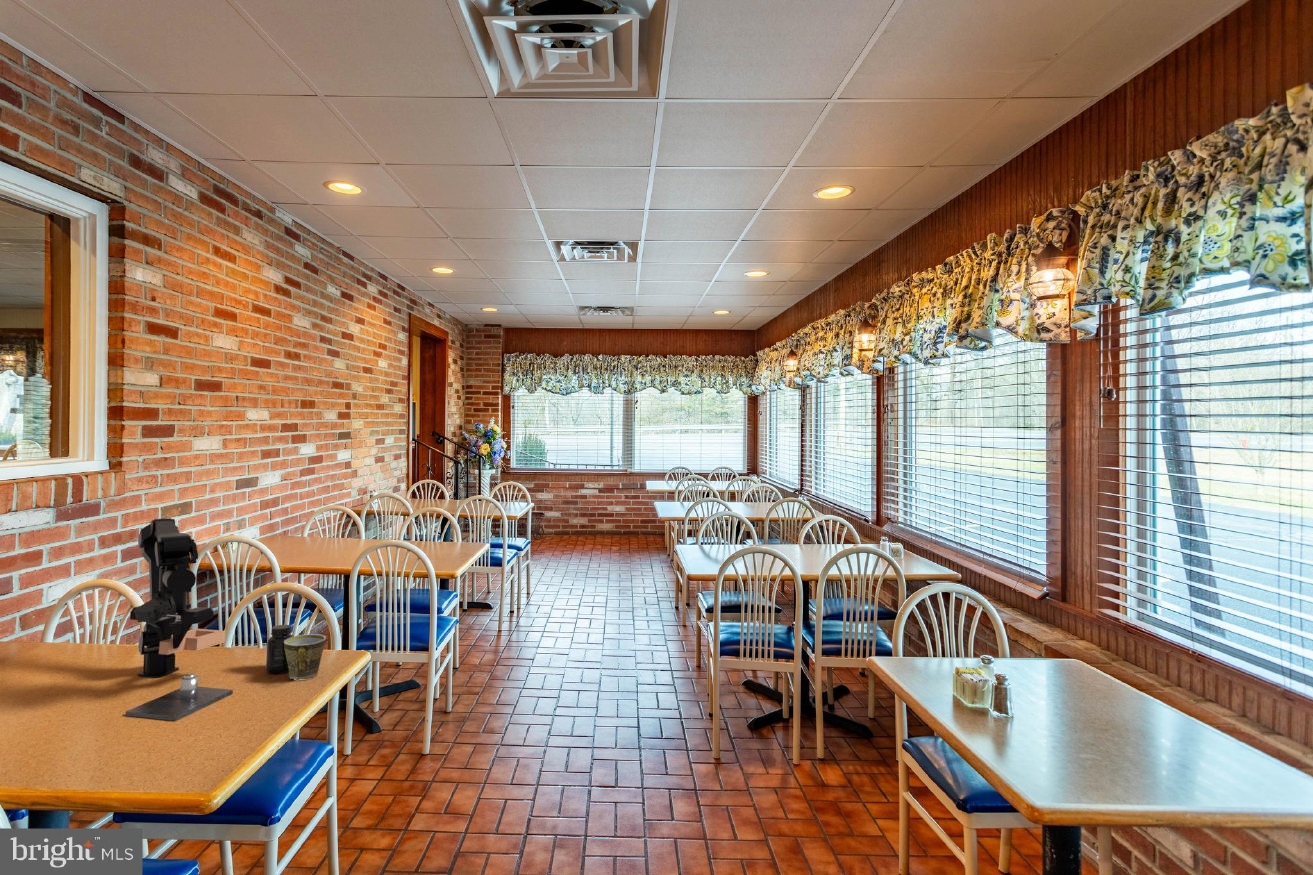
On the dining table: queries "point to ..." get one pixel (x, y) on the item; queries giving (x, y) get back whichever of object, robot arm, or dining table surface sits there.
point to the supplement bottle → (277, 649)
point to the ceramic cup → (304, 655)
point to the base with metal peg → (180, 701)
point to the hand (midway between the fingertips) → (171, 647)
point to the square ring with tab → (194, 641)
